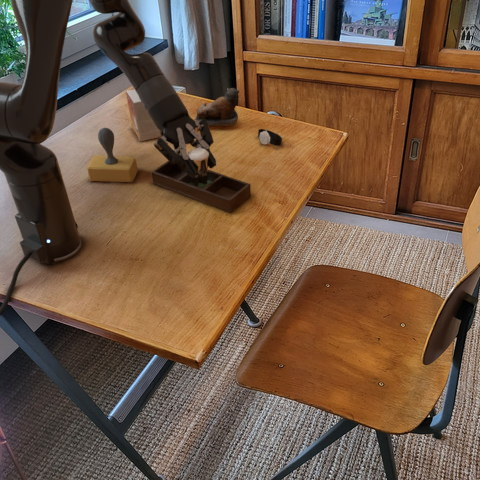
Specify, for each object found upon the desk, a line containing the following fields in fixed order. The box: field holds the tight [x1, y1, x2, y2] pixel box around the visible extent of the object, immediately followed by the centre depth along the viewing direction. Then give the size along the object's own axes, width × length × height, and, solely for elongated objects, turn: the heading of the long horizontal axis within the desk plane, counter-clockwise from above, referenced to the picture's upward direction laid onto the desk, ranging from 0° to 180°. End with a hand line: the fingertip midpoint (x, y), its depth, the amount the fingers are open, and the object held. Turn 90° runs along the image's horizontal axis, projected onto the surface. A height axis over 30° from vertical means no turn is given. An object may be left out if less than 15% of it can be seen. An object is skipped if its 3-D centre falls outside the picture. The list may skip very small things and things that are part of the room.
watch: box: [257, 128, 283, 147], centre depth 146 cm, size 8×5×4 cm, turn 41°
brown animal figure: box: [194, 87, 240, 127], centre depth 152 cm, size 12×7×10 cm, turn 85°
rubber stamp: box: [86, 127, 139, 183], centre depth 131 cm, size 10×6×12 cm, turn 87°
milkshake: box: [187, 144, 209, 189], centre depth 127 cm, size 5×5×10 cm
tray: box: [150, 160, 252, 214], centre depth 130 cm, size 8×22×3 cm, turn 58°
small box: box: [125, 88, 162, 142], centre depth 148 cm, size 8×6×10 cm
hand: (204, 171), depth 126 cm, fingers closed on milkshake, 4 cm apart
